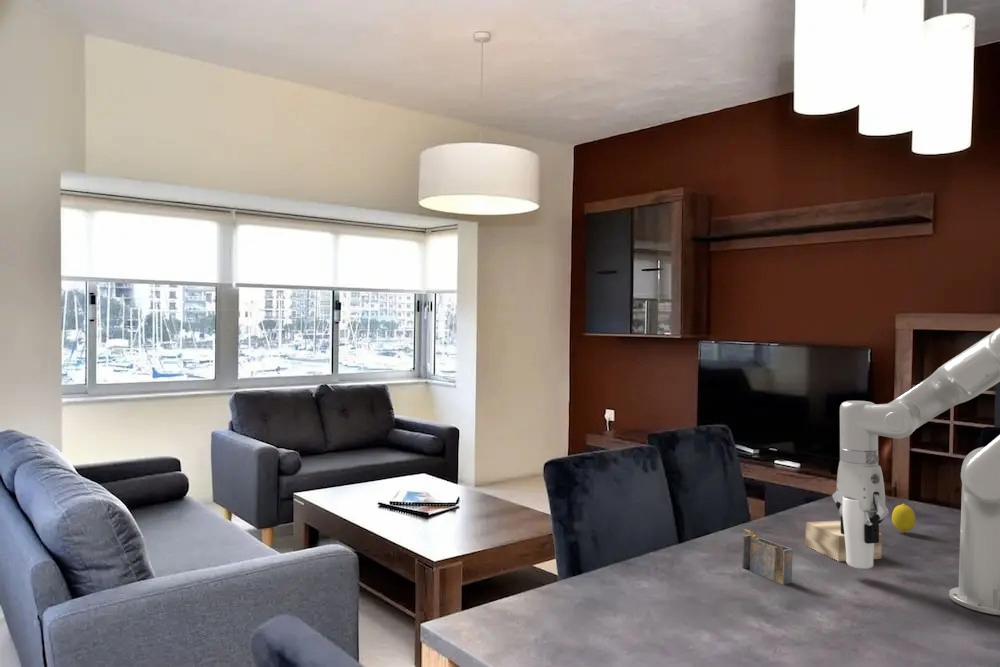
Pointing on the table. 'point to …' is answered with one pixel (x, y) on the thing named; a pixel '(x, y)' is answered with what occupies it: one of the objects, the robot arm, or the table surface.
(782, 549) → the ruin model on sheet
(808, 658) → the table surface
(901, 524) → the lemon
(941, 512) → the table surface
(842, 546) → the wooden block
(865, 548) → the drinking glass
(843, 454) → the robot arm
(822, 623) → the table surface
